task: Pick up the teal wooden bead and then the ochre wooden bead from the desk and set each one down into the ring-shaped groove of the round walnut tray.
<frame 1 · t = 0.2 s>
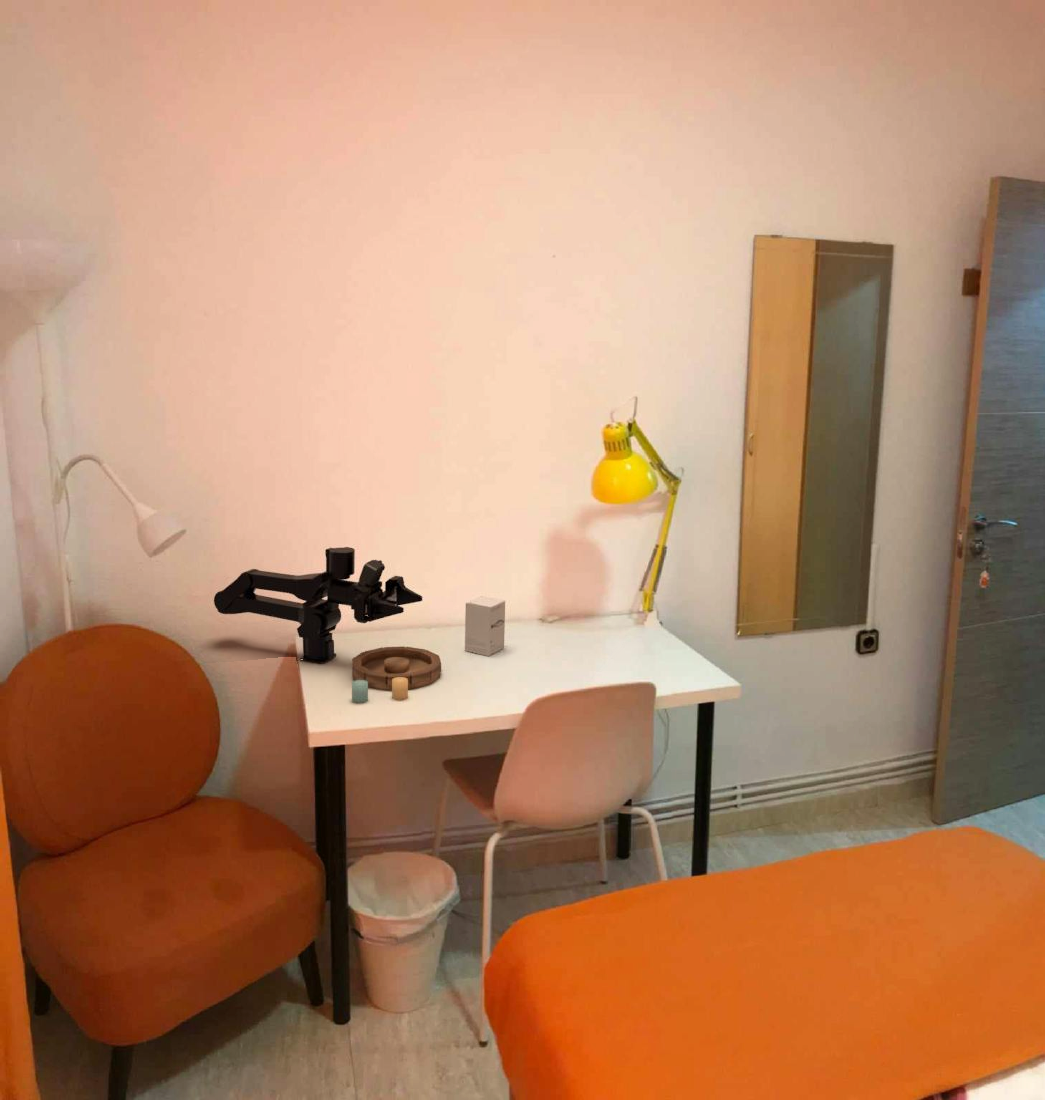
hand: (412, 604, 225), 17 cm above the table, tool horizontal, fingers open, 9 cm apart
groove tray: (396, 674, 228), on the table
supplement box: (484, 650, 246), on the table
bead a: (360, 700, 213), on the table
bead b: (400, 697, 215), on the table
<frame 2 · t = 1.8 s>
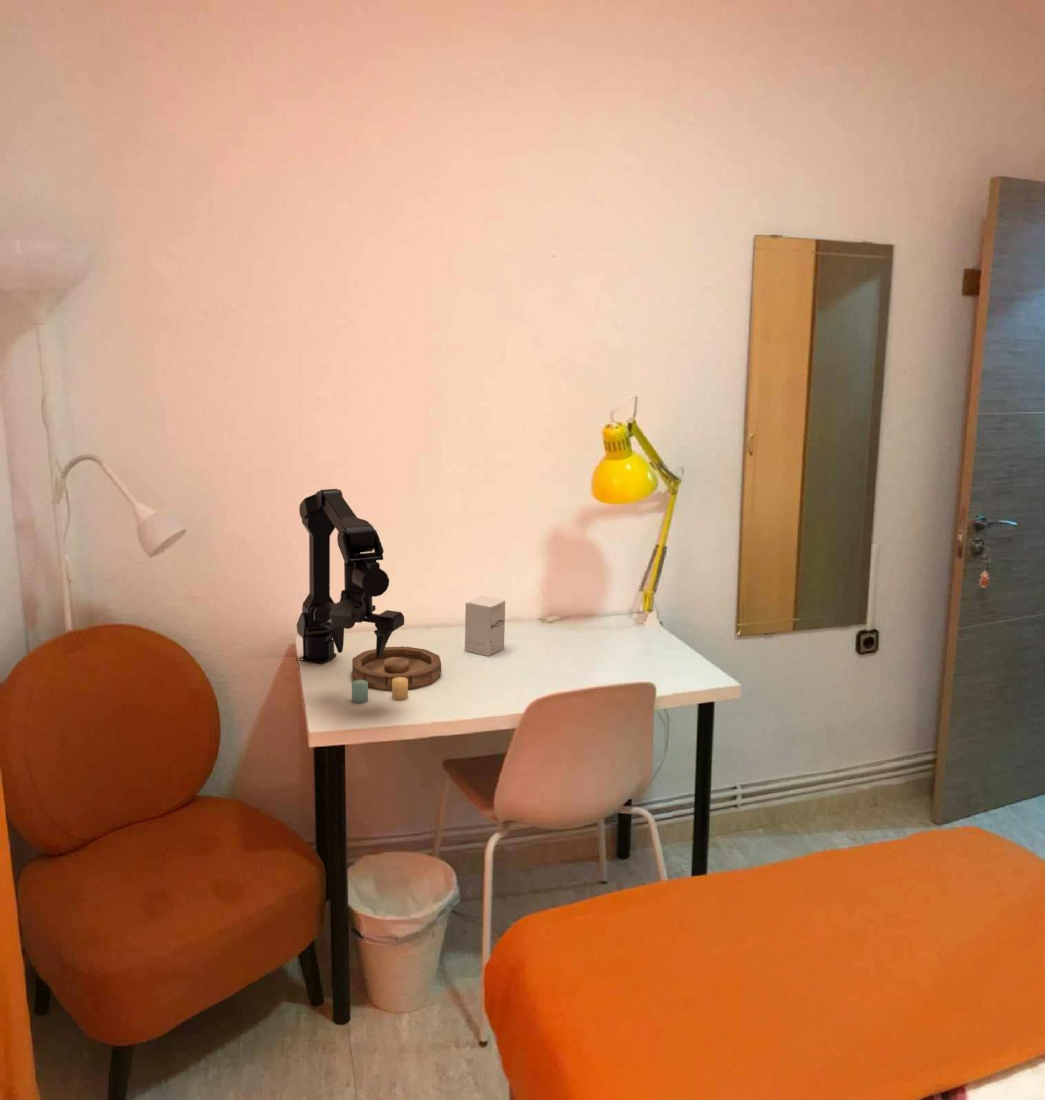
hand: (359, 655, 211), 10 cm above the table, tool pointing down, fingers open, 9 cm apart
nothing on the table moved.
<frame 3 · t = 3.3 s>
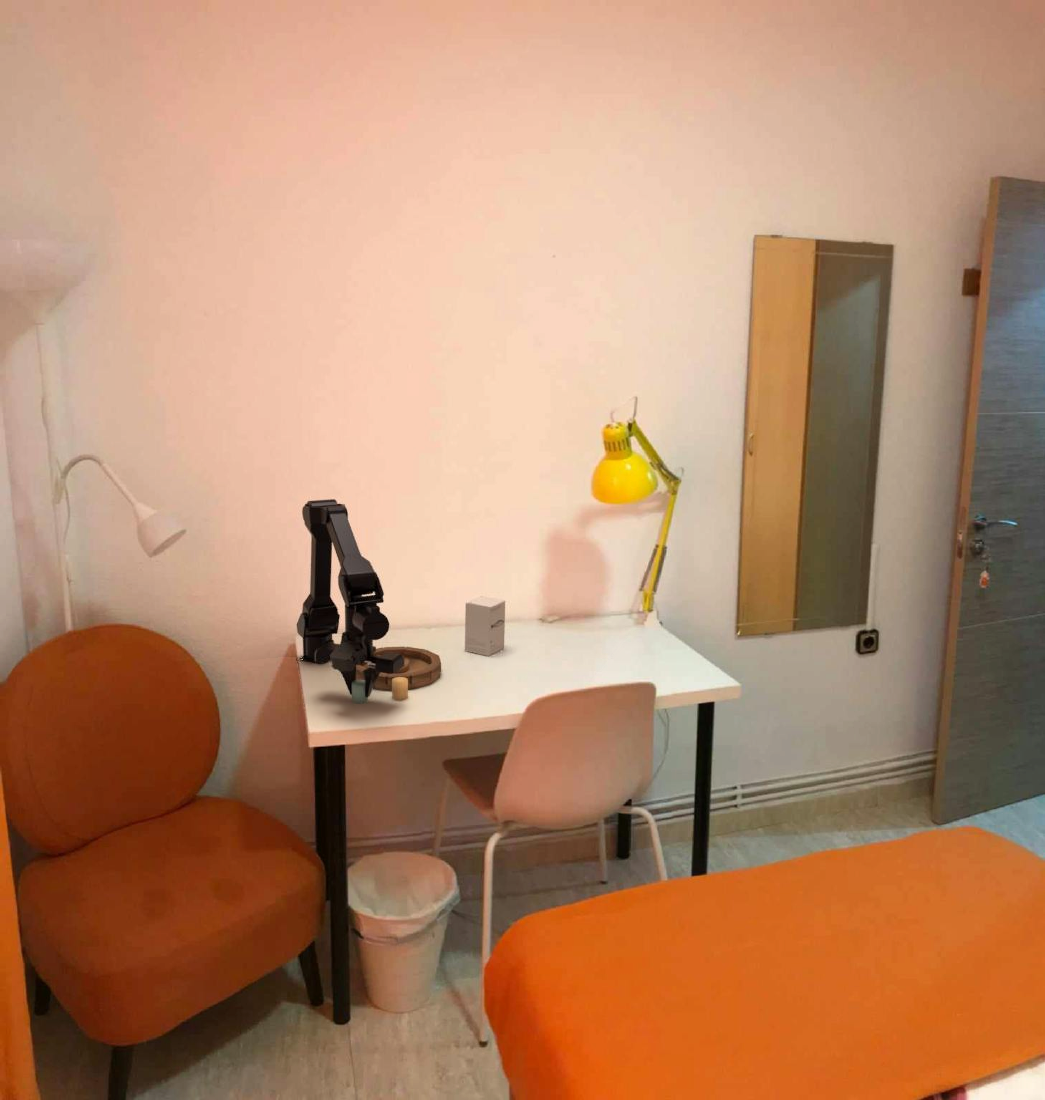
hand: (359, 695, 213), 1 cm above the table, tool pointing down, fingers closed on bead a, 3 cm apart
bead a: (360, 700, 213), on the table, touching gripper
everything else where it was.
when the fingers open (4 cm above the table, at t = 6.8 s): bead a drops 1 cm, resting on groove tray.
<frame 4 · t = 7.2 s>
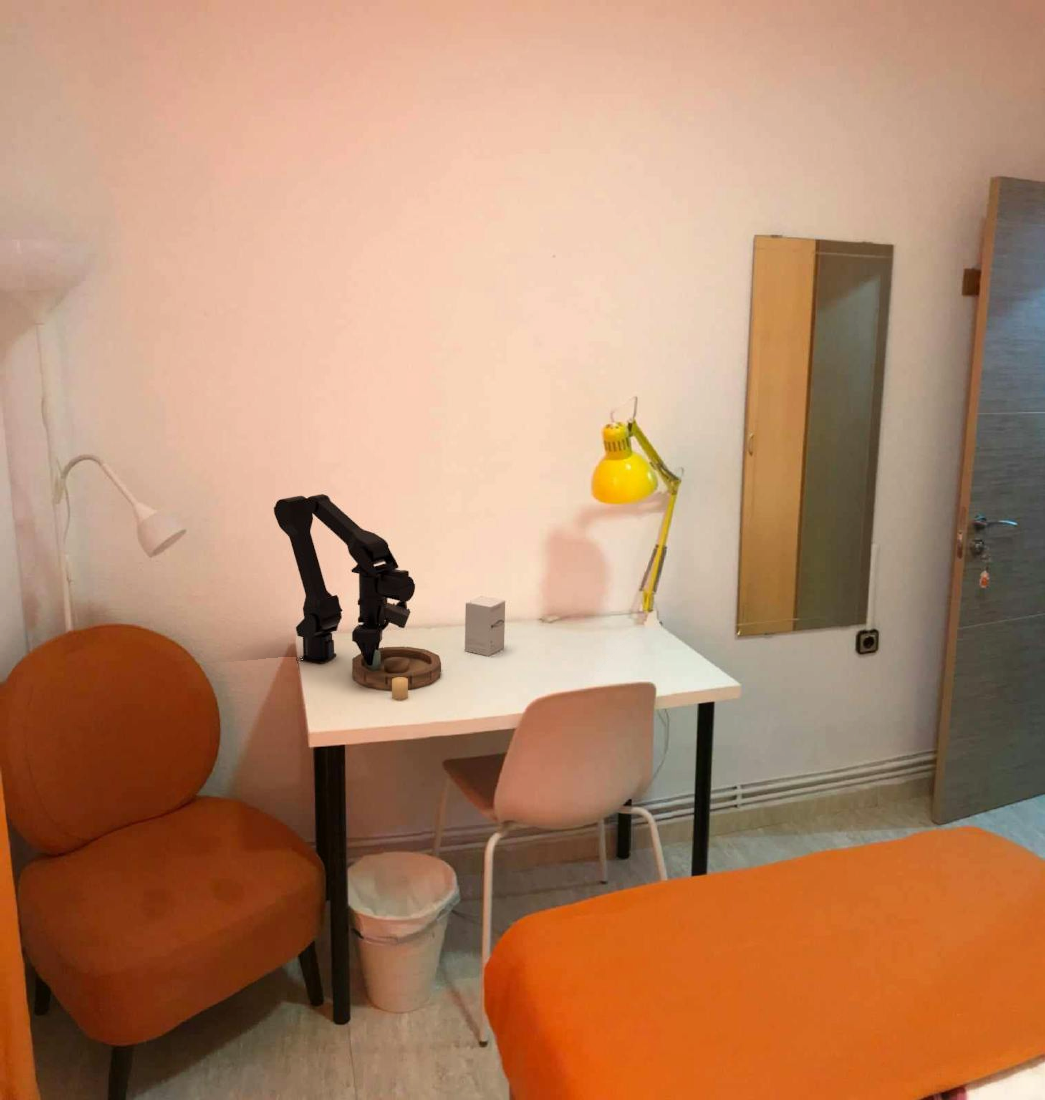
hand: (372, 659, 228), 4 cm above the table, tool pointing down, fingers open, 8 cm apart
bead a: (373, 668, 228), point 1 cm above the table, touching groove tray
everything else where it was.
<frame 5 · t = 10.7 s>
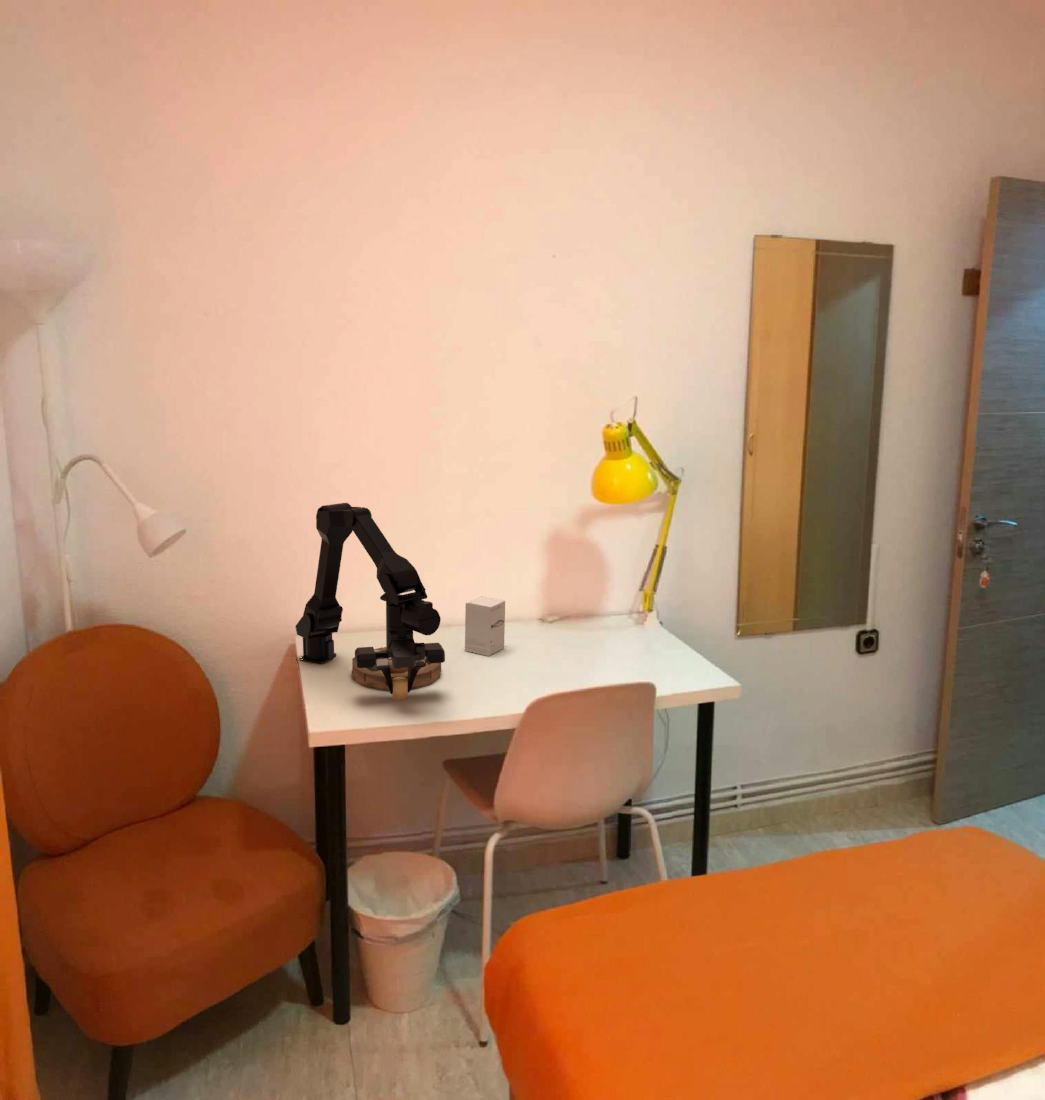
hand: (400, 692, 215), 1 cm above the table, tool pointing down, fingers closed on bead b, 3 cm apart
bead b: (400, 697, 215), on the table, touching gripper
everything else where it was.
when the fingers open (4 cm above the table, at t = 13.7 s): bead b drops 1 cm, resting on groove tray.
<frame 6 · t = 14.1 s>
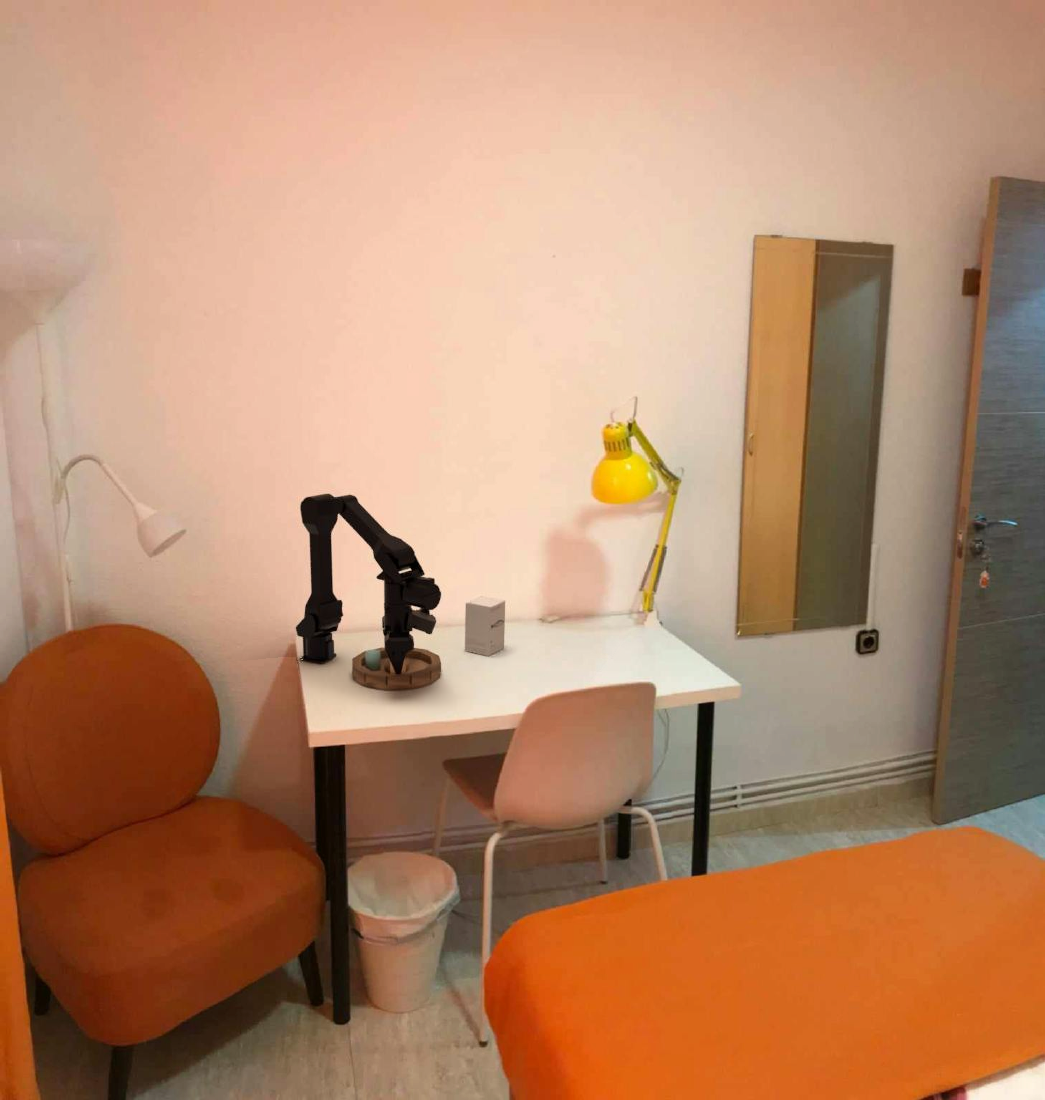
hand: (397, 668, 222), 4 cm above the table, tool pointing down, fingers open, 7 cm apart
bead b: (397, 677, 223), point 1 cm above the table, touching groove tray
everything else where it was.
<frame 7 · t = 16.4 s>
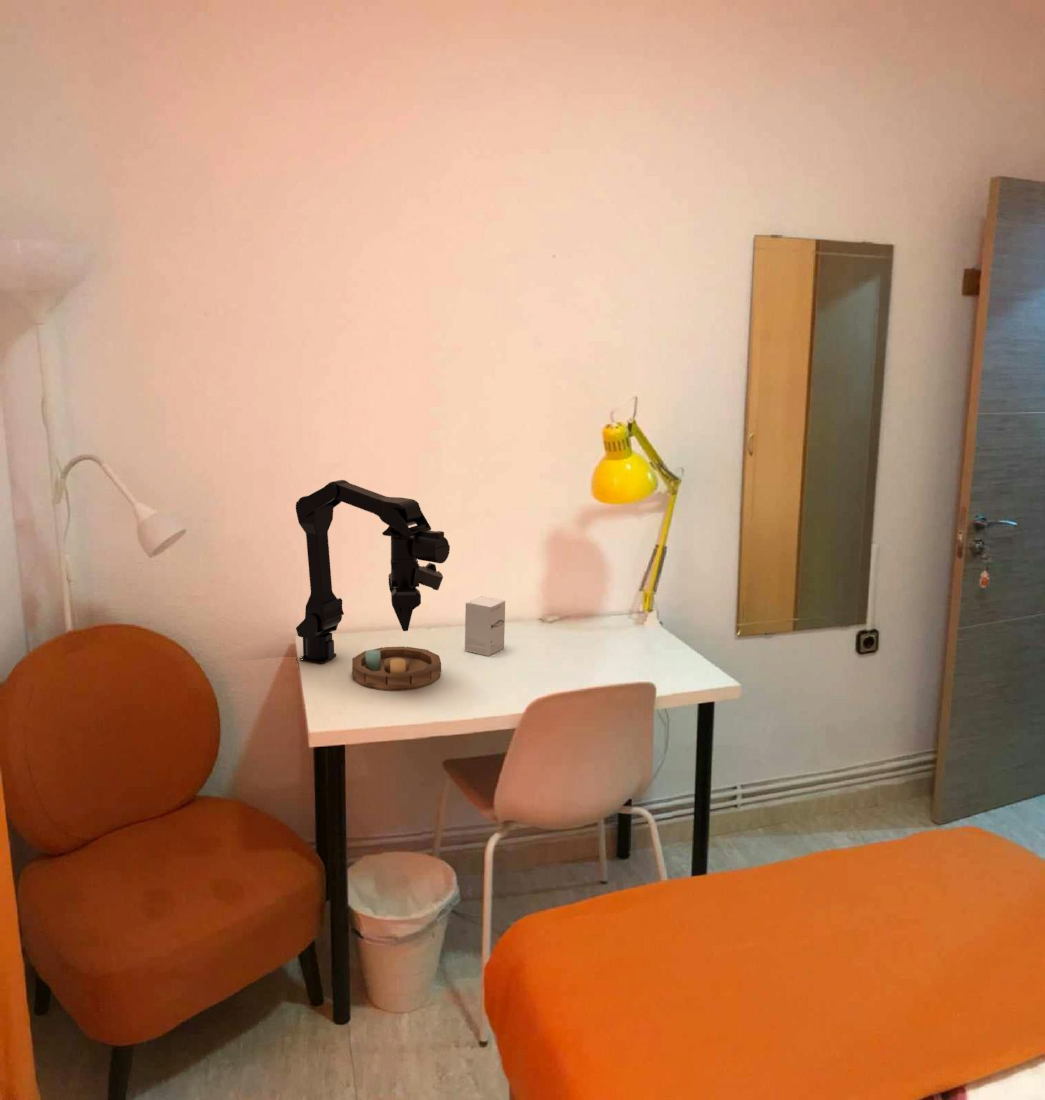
hand: (404, 624, 223), 13 cm above the table, tool pointing down, fingers open, 9 cm apart
nothing on the table moved.
at the end: bead a 0.0 cm from the target spot on the groove tray, point 1.2 cm above the groove tray's base; bead b 0.0 cm from the target spot on the groove tray, point 1.2 cm above the groove tray's base; bead b touching groove tray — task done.
